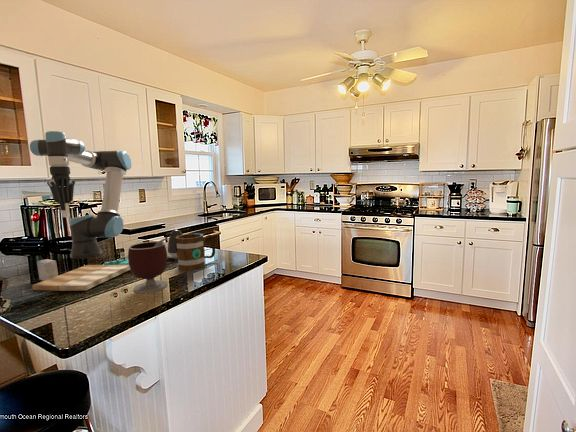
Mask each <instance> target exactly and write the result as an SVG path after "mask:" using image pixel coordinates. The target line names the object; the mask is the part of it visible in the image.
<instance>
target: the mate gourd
mask: <svg viewBox="0 0 576 432" xmlns="http://www.w3.org/2000/svg"><path fill="white" fill-rule="evenodd" d="M166 240H168V238H167V237H165V238H162V239H160V240H158V241H145V242H139V243H135V244H131V245H129V247H128V253H127V254H128V255H127V258H128V261H129V266H130V269H131V270H130V271H131V273H132V274H133V275H134V276H135V277H136V278H139V279H144V280H146V281H145V282H141V283H140V284H137V285H135V286H134V287H133V291H134V292H135V293H138V294H149V293H154V292H159V291H162V290H163V289H165V288H167V287H168V285H169V284H168V282H167V281H166V280H160V279H158V280H155V279H156V277H158V276H160V275H162V274H163V273H164V272H165V270H166V268H167V265H168V250H167V246H166V245H165V242H164V241H166Z"/></svg>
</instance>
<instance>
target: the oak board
mask: <svg viewBox="0 0 576 432" xmlns="http://www.w3.org/2000/svg"><path fill="white" fill-rule="evenodd" d="M106 266H109V265H104V264H86V265H84V266H80V267H77V268H75V269H72V270H70V271H67V272H64V273H62V274H60V275H59V274H58V276H56V277H53V278H50V279H48V280H45V281H42V280H41V281H40V282H37V283H35V284H32V285H31V286H32V291H53V292H54V291H58V292H59V291H60V290H59V286H60V285H62V284H65V283H67V282H69V281H72V280H74V279H77V278H79V277H82V276H84V275H87V274H89V273H91V272H94V271H96V270H99V269H101V268H104V267H106Z"/></svg>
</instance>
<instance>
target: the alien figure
mask: <svg viewBox="0 0 576 432" xmlns="http://www.w3.org/2000/svg"><path fill="white" fill-rule="evenodd" d="M103 265H129V261H128V257H127V258H126V259H119V260H113V261H106V262H103Z"/></svg>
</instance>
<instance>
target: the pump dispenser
mask: <svg viewBox="0 0 576 432" xmlns="http://www.w3.org/2000/svg"><path fill="white" fill-rule="evenodd" d="M165 235H167V236H169V237H168V239H167V240H168V242H167V254H168V255H169V256H170V258H172V259H178V257H177V243H176V236H180V235H184V234H183V233H182V231H181V230H179V229H174V230H172V231H171V232H166V234H165Z"/></svg>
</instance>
